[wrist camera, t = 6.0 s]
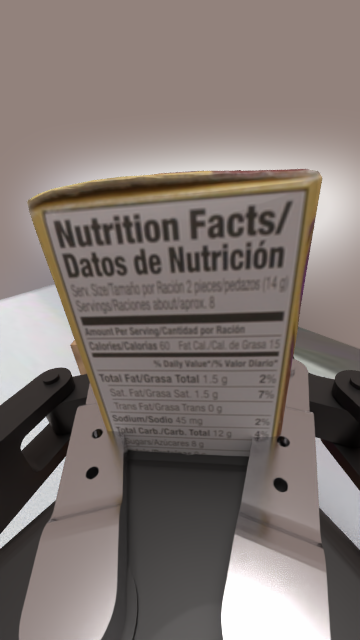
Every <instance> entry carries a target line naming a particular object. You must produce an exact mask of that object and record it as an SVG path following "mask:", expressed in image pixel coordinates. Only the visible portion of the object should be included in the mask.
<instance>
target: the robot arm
mask: <svg viewBox="0 0 360 640" xmlns="http://www.w3.org/2000/svg"><path fill="white" fill-rule="evenodd" d="M45 417H47V419H48V421H49V424H48V425H47V426H46V427H45V428H44V429H43V430H42V431H41V432H40V433H39V434H38V435H37V436H36V437H35V438H34V439H33V440H32V441H31V442H30V443H29V444H28V445H27V446H26V447H25V448H24V449H23V450H22V451H21V449H20V447H21V443H22V440H23V439H24V437H25V436H26V435H27V434H28V433H29V432H30V431H31V430H32V429H33V428H34V427H35V426H36V425H37V424H39V423H40V422H41V421H42V420H43V419H44V418H45ZM315 437H317V438H320V439H321V441H322V443H323V444H324V445H325V447H326V448H327V449H328V451H329V452H330V453H331V454H332V456H333V457H334V458H335V460H336V461H337V462H338V463H339V465H340V466H341V467H342V468H343V470H344V471H345V472H346V474H347V475H348V476H349V477H350V479H351V480H352V481H353V483H354V484H355V485H356V486H357V488H358V489H359V490H360V372H359V371H353V370H346V371H341V372H339V373H338V374H337V375H336V376H335V380H334V379H329V378H325V377H320V376H316V375H313V374H310V373H308V370H307V368H306V367H305V365H304V364H302V363H301V362H299V361H298V360H295V359H294V357H293V360H292V366H291V373H290V380H289V386H288V392H287V398H286V405H285V411H284V418H283V425H282V431H281V434H280V435H279V436H275V437H253V438H252V444H251V450H250V455H249V456H223V455H203V454H193V455H185V454H182V453H164V452H144V451H128V445H127V441H126V438H125V434H124V432H118V431H108V430H106V427H105V424H104V422H103V419H102V416H101V413H100V410H99V406H98V403H97V400H96V398H95V395H94V393H93V390H92V387H91V384H90V381H89V378H88V375H87V374H84V375H79V376H75V377H72V375H71V372H70V370H68V369H66V368H54V369H51V370H48V371H46V372H44V373H42V374H41V375H39V376H38V377H36V378H35V379H34V380H33V381H31V382H30V383H29V384H27V385H26V386H25V387H24V388H22V389H21V390H20V391H18V392H17V393H16V394H15V395H13V396H12V397H11V398H9V399H8V400H7V401H5V402H4V403H3V404H2V405H0V534H1V533H2V531H3V530H4V529H5V528H6V527H7V525H8V524H9V523H10V522H11V521H12V519H13V518H14V517H15V516H16V515H17V514H18V512H19V511H20V510H21V509H22V508H23V506H24V505H25V504H26V503H27V502H28V500H29V499H30V498H31V497H32V496H33V495H34V493H35V492H36V491H37V490H38V489H39V487H40V486H41V485H42V484H43V483H44V481H45V480H46V479H47V478H48V477H49V476H50V474H51V473H52V472H53V471H54V470H55V468H56V467H57V466H58V465H59V464H60V462H61V461H62V460H63V459H64V458H65V457H66V459H65V463H64V468H63V472H62V476H61V481H60V485H59V489H58V494H57V498H56V500H55V501H54V502H53V503H52V504H51V505H50V506H49V507H47V508H46V509H45V510H44V511H43V512H42V513H41V514H40V515H38V516H37V517H36V518H35V519H34V520H33V521H32V522H30V523H29V524H28V525H27V526H26V527H25V528H24V529H22V530H21V531H20V532H19V533H18V534H17V535H16V536H14V537H13V538H12V539H11V540H10V541H9V542H8V543H6V544H5V545H4V546H3V547H2V548H1V549H0V640H360V550H359V549H358V548H357V547H356V545H355V544H354V543H353V542H352V541H351V540H350V539H349V538H348V537H347V536H346V535H345V534H344V533H343V532H342V531H341V530H340V529H339V528H338V527H337V526H336V525H335V524H334V523H333V522H332V520H331V519H330V518H329V517H328V516H327V515H326V514H325V513H324V512H323V511H322V510H321V509H320V508H319V500H318V482H317V463H316V445H315Z"/></svg>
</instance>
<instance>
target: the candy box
mask: <svg viewBox="0 0 360 640" xmlns="http://www.w3.org/2000/svg"><path fill="white" fill-rule="evenodd" d="M321 183H322V177H321V175H320V173H319V172H318V171H313V170H308V169H291V170H259V171H241V170H239V171H238V170H237V171H191V172H176V173H161V174H154V175H143V176H126V177H116V178H108V179H101V180H93V181H88V182H83V183H78V184H74V185H69V186H64V187H60V188H55V189H52V190H49V191H46V192H43V193H40V194H38V195H36V196H35V197H33V198H31V199H30V200H28V207H29V212H30V215H31V218H32V221H33V224H34V227H35V230H36V233H37V235H38V238H39V241H40V244H41V247H42V250H43V252H44V255H45V258H46V261H47V263H48V266H49V268H50V271H51V274H52V277H53V280H54V282H55V285H56V288H57V291H58V294H59V296H60V299H61V302H62V305H63V308H64V311H65V313H66V316H67V319H68V322H69V325H70V327H71V330H72V333H73V336H74V339H75V342H76V344H77V347H78V350H79V353H80V356H81V358H82V361H83V364H84V367H85V370H86V373H87V375H88V378H89V381H90V384H91V387H92V390H93V393H94V395H95V398H96V400H97V403H98V406H99V410H100V413H101V416H102V419H103V422H104V424H105V427H106V430H108V431H118V432H124V434H125V438H126V441H127V445H128V451H144V452H164V453H182V454H185V455H193V454H203V455H223V456H249V455H250V450H251V444H252V438H253V437H275V436H279V435H280V434H281V431H282V425H283V418H284V411H285V405H286V398H287V392H288V386H289V380H290V373H291V366H292V360H293V354H294V348H295V342H296V336H297V329H298V322H299V314H300V307H301V301H302V295H303V288H304V282H305V276H306V270H307V265H308V259H309V252H310V246H311V241H312V234H313V229H314V223H315V217H316V211H317V206H318V200H319V194H320V188H321Z"/></svg>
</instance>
